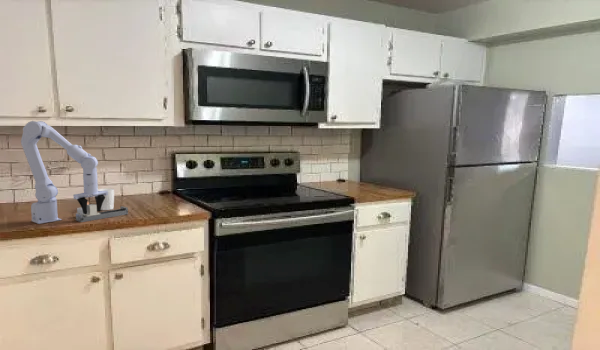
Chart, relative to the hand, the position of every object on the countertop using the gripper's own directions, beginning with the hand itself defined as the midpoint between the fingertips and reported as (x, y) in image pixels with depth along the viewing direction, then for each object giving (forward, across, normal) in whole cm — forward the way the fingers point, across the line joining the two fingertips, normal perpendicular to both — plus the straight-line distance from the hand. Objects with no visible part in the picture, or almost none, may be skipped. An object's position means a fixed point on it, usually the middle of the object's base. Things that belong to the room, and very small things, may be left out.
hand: (91, 212), depth 184 cm
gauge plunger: (+1, +1, +8) cm, 8 cm away
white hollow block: (+3, +1, +8) cm, 8 cm away
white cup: (+3, +15, +16) cm, 22 cm away
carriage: (+2, 0, 0) cm, 2 cm away
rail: (+3, +5, 0) cm, 6 cm away
